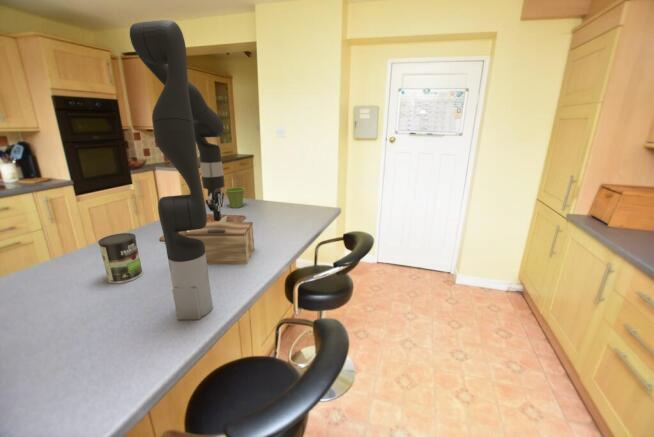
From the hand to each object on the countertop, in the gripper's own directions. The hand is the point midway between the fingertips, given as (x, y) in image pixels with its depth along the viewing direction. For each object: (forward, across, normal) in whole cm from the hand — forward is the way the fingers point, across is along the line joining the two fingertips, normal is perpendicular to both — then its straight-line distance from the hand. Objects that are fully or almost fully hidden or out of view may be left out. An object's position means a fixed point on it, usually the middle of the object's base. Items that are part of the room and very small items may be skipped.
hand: (217, 220), depth 114 cm
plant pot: (+15, +75, +15) cm, 78 cm away
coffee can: (+16, -14, +29) cm, 36 cm away
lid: (+4, +2, 0) cm, 5 cm away
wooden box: (+16, +2, 0) cm, 16 cm away
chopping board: (+16, +36, +19) cm, 43 cm away
